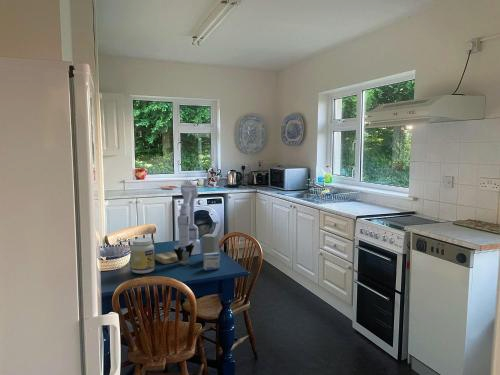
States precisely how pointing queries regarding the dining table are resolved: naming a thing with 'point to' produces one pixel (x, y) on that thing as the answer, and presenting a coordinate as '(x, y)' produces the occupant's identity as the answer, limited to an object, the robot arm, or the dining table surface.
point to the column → (185, 258)
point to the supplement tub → (142, 255)
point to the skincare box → (210, 244)
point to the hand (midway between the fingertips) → (184, 258)
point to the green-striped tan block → (166, 257)
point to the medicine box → (211, 261)
